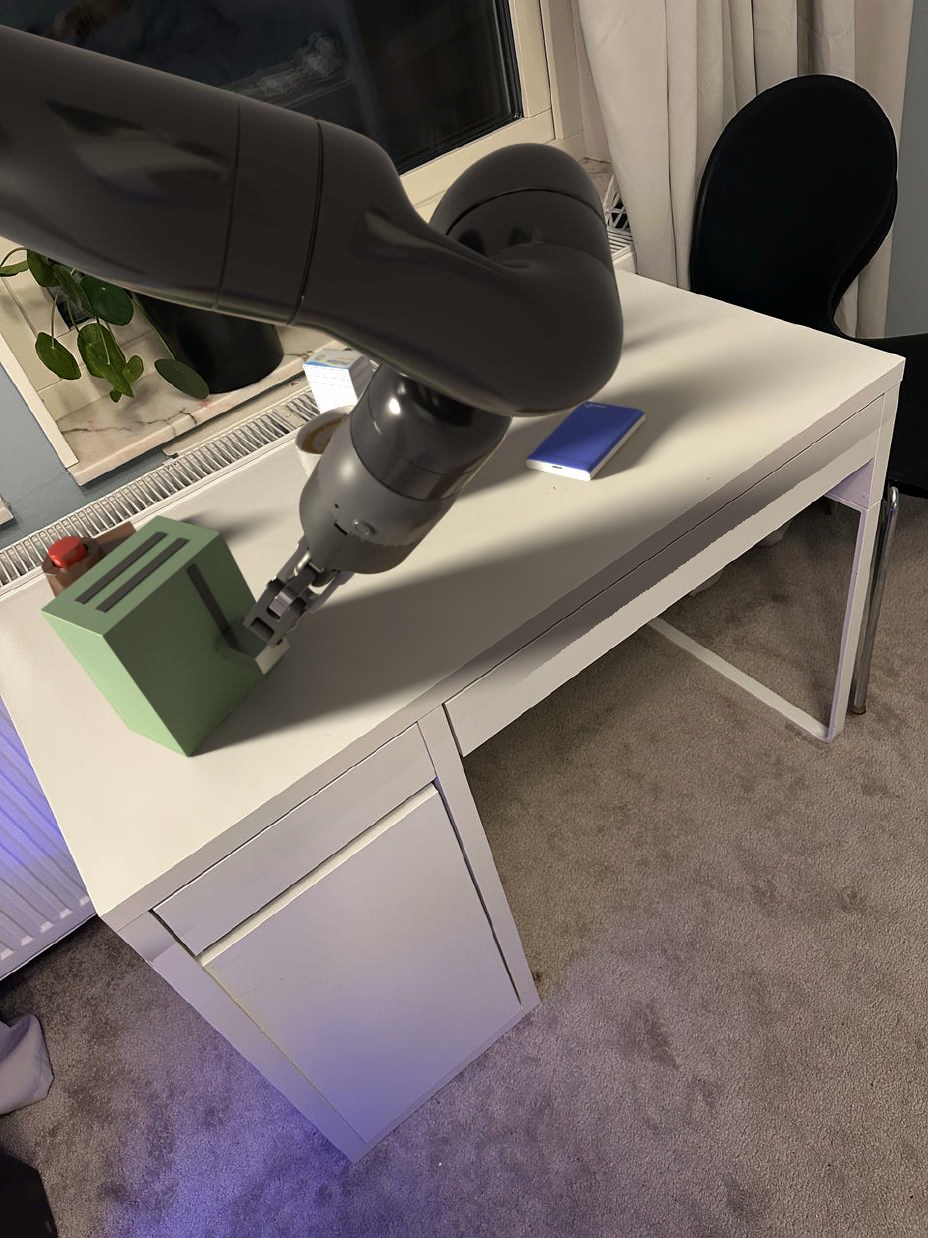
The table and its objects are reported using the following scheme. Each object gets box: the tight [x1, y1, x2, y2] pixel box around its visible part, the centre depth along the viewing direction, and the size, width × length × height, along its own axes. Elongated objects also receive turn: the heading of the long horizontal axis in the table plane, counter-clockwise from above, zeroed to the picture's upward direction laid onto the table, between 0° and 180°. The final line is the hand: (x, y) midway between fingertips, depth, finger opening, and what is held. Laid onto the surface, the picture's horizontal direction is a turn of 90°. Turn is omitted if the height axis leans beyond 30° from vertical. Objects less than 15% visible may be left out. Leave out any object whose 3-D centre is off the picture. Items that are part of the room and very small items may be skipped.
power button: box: [47, 535, 87, 568], centre depth 94 cm, size 4×4×2 cm
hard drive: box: [525, 400, 646, 482], centre depth 95 cm, size 2×8×12 cm
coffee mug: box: [294, 405, 355, 480], centre depth 93 cm, size 13×10×10 cm
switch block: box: [40, 520, 138, 598], centre depth 96 cm, size 11×9×4 cm
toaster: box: [39, 514, 285, 758], centre depth 74 cm, size 13×9×15 cm, turn 148°
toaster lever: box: [215, 617, 291, 674], centre depth 72 cm, size 4×5×2 cm
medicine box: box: [302, 347, 375, 414], centre depth 109 cm, size 8×4×9 cm, turn 58°
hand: (305, 593), depth 61 cm, fingers open, 8 cm apart
